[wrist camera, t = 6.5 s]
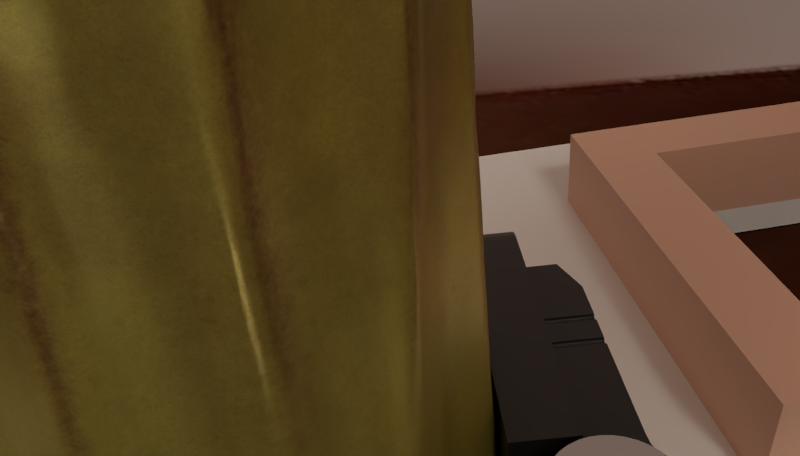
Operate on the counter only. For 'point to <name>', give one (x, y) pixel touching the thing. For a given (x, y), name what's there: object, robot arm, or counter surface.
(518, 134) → the counter surface
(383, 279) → the vase
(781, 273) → the counter surface
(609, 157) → the socket stand
